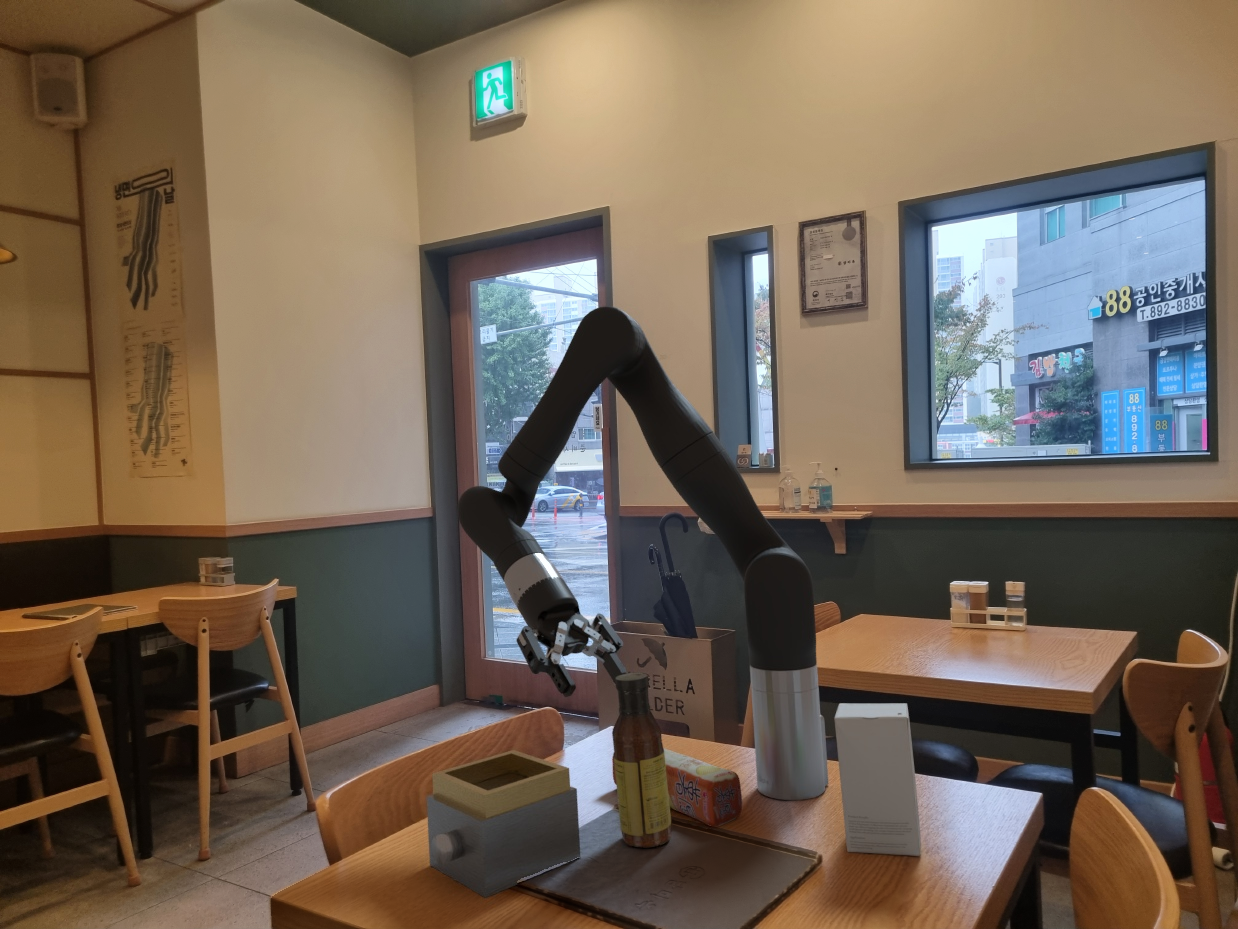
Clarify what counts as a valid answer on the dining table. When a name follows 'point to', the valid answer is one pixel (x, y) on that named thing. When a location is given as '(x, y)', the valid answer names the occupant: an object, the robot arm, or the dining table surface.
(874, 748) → the skincare box
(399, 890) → the dining table surface
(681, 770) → the snack package
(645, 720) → the sauce bottle
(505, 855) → the box
